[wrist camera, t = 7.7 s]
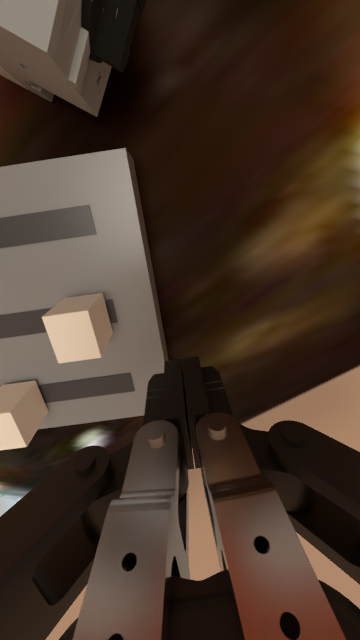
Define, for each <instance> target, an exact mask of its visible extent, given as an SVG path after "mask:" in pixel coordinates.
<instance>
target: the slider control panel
mask: <svg viewBox="0 0 360 640" xmlns="http://www.w3.org/2000/svg"><path fill="white" fill-rule="evenodd" d="M96 293H103V296H104V300H105V304H106V308H107V312H108V315H109V319H110V323H111V327H112V331H113V334H112V336H111V338H110V340H109V343H108V345H107V347H106V349H105V351H104V353H103V355H102V358H96V359H89V360H81V361H74V362H67V363H59V364H58V361H57V358H56V355H55V353H54V350H53V347H52V344H51V342H50V339H49V336H48V333H47V331H46V328H45V325H44V322H43V320H42V316H43V315H45V314H46V313H47V312H48V311H49V310H51V309H52V308H53V307H54V306H55V305H57V304H58V303H59V302H60V301H62V300H63V299H64V298H68V297H75V296H82V295H89V294H96ZM164 361H169V359H168V353H167V348H166V342H165V336H164V331H163V325H162V319H161V313H160V308H159V302H158V296H157V291H156V285H155V279H154V274H153V268H152V262H151V257H150V251H149V245H148V240H147V234H146V228H145V223H144V217H143V211H142V206H141V200H140V194H139V189H138V183H137V177H136V172H135V166H134V160H133V158H132V156H131V155H130V154H129V152H128V151H127V149H126V148H121V149H115V150H108V151H102V152H95V153H89V154H82V155H76V156H69V157H62V158H56V159H49V160H43V161H36V162H30V163H23V164H17V165H10V166H3V167H0V387H1V386H2V385H6V384H14V383H21V382H28V381H36V383H37V385H38V388H39V390H40V393H41V395H42V398H43V400H44V402H45V405H46V407H47V410H48V413H47V415H46V416H45V418H44V419H43V421H42V423H41V424H40V426H39V428H38V429H44V428H51V427H59V426H67V425H74V424H82V423H89V422H97V421H104V420H112V419H120V418H127V417H135V416H142V415H144V413H145V405H146V396H147V387H148V382H149V380H150V379H151V377H152V376H153V375H154V374H159V373H164Z"/></svg>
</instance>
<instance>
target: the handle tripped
mask: <svg viewBox="0 0 360 640" xmlns="http://www.w3.org/2000/svg"><path fill="white" fill-rule="evenodd" d="M42 320H43V322H44V325H45V328H46V331H47V333H48V336H49V339H50V342H51V344H52V347H53V350H54V353H55V355H56V358H57V361H58V364H59V363H67V362H74V361H81V360H89V359H96V358H102V355H103V353H104V351H105V349H106V347H107V345H108V343H109V340H110V338H111V336H112V334H113V331H112V327H111V323H110V319H109V315H108V312H107V308H106V304H105V300H104V296H103V293H96V294H89V295H82V296H75V297H68V298H64V299H63V300H62V301H60V302H59V303H58V304H57V305H55V306H54V307H53V308H52V309H51V310H49V311H48V312H47V313H46V314H45V315H43V316H42Z"/></svg>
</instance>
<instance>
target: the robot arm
mask: <svg viewBox="0 0 360 640" xmlns="http://www.w3.org/2000/svg"><path fill="white" fill-rule="evenodd" d="M182 363H183V370H182ZM182 363H181V359H177V360H170V361H164V373H159V374H154V375H153V376H152V377H151V379H150V380H149V382H148V387H147V396H146V405H145V413H144V422H143V427H141V428H140V429H139V430H138V432H137V433H136V435H135V438H134V442H132V443H131V444H130V445H128V446H126V447H124V448H122V449H120V450H117V451H115V452H113V453H110V454H108V452H107V450H106V449H105V448H103V447H101V446H89V447H85V448H83V449H81V450H79V451H77V452H75V453H74V454H73V455H72V456H70V457H69V458H68V459H67V460H66V461H65V462H63V463H62V464H61V465H60V466H59V467H58V468H56V469H55V470H54V471H53V472H52V473H51V474H49V475H48V476H47V477H46V478H45V479H44V480H43V481H41V482H40V483H39V484H38V485H37V486H36V487H34V488H33V489H32V490H31V491H30V492H29V493H27V494H26V495H25V496H24V497H23V498H22V499H20V500H19V501H18V502H17V503H16V504H15V505H14V506H13V507H11V508H10V509H9V510H8V511H7V512H5V513H4V514H3V515H2V516H1V517H0V640H45V639H46V638H47V637H48V635H49V634H50V633H51V631H52V630H53V629H54V627H55V626H56V624H57V623H58V622H59V621H60V619H61V618H62V617H63V615H64V614H65V613H66V611H67V610H68V609H69V607H70V606H71V605H72V603H73V602H74V601H75V599H76V598H77V597H78V595H79V594H80V593H81V591H82V590H83V589H84V587H85V586H86V585H87V588H86V592H85V595H84V599H83V603H82V606H81V610H80V614H79V617H78V618H77V619H76V620H75V621H74V622H73V623H72V624H71V625H70V627H69V628H68V629H67V630H66V631H65V633H64V634H63V635H62V636H61V637H60V639H59V640H360V609H359V608H358V607H357V606H356V605H354V604H353V603H352V602H351V601H350V600H349V599H347V598H346V597H345V596H343V595H342V594H341V593H340V592H338V591H337V590H335V589H333V588H332V587H330V586H329V585H327V584H326V583H324V582H322V581H320V580H318V579H317V576H316V574H315V572H314V570H313V568H312V566H311V564H310V562H309V559H308V557H307V555H306V553H305V551H304V549H303V547H302V545H301V543H300V540H299V538H298V536H297V534H296V532H297V533H298V534H300V535H301V536H302V537H303V538H304V539H305V540H307V541H308V542H309V543H310V544H312V545H313V546H314V547H315V548H316V549H318V550H319V551H320V552H321V553H322V554H324V555H325V556H326V557H327V558H328V559H330V560H331V561H332V562H333V563H335V564H336V565H337V566H338V567H339V568H341V569H342V570H343V571H344V572H345V573H346V574H348V575H349V576H350V577H351V578H353V579H354V580H355V581H356V582H357V583H359V584H360V452H358V451H356V450H354V449H352V448H350V447H348V446H346V445H345V444H343V443H340V442H339V441H337V440H335V439H333V438H330V437H329V436H327V435H325V434H323V433H321V432H319V431H317V430H315V429H313V428H311V427H309V426H307V425H305V424H303V423H300V422H297V421H281V422H278V423H276V424H274V425H273V426H272V427H271V428H270V430H269V432H266V431H259V430H253V429H249V428H247V427H244V426H243V425H241V424H240V423H238V421H237V420H236V419H235V418H234V417H233V414H232V411H231V408H230V405H229V402H228V399H227V395H226V392H225V389H224V386H223V383H222V380H221V377H220V374H219V372H218V371H217V370H216V369H215V368H214V367H212V366H210V367H202V368H201V366H200V362H199V357H191V358H184V359H182ZM183 373H184V376H183ZM190 434H191V435H190ZM191 441H192V445H191ZM192 447H193V454H194V460H195V466H196V468H201V472H202V479H203V485H204V492H205V497H206V502H207V506H208V511H209V516H210V521H211V526H212V530H213V535H214V540H215V544H216V550H217V554H218V560H219V565H220V571H221V572H219V573H217V574H215V575H213V576H211V577H209V578H207V579H205V580H202V581H194V580H190V572H189V556H188V543H189V540H188V539H189V535H188V533H189V526H188V524H189V504H188V503H189V493H188V483H189V481H188V469H194V465H193V455H192ZM295 531H296V532H295Z"/></svg>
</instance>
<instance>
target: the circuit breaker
mask: <svg viewBox="0 0 360 640" xmlns="http://www.w3.org/2000/svg"><path fill="white" fill-rule="evenodd" d="M145 2H146V0H0V75H1V76H3V77H5V78H7V79H9V80H11V81H13V82H14V83H16V84H18V85H20V86H22V87H24V88H26V89H28V90H29V91H31V92H33V93H35V94H37V95H39V96H41V97H42V98H44V99H46V100H48V101H50V102H52V100H53V96H54V94H55V95H57V96H59V97H60V98H62V99H64V100H66V101H68V102H70V103H71V104H73V105H75V106H77V107H79V108H81V109H83V110H84V111H86V112H88V113H90V114H92V115H94V116H96V117H97V116H98V113H99V109H100V106H101V102H102V99H103V95H104V92H105V88H106V85H107V81H108V78H109V74H110V71H111V67H113V68H115V69H117V70H118V71H120V72H123V71H124V70H125V67H126V65H127V62H128V58H129V55H130V52H131V51H130V45H131V42H132V39H133V36H134V32H135V29H136V26H137V22H138V19H139V16H140V14H142V12H143V9H144V6H145Z"/></svg>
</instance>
